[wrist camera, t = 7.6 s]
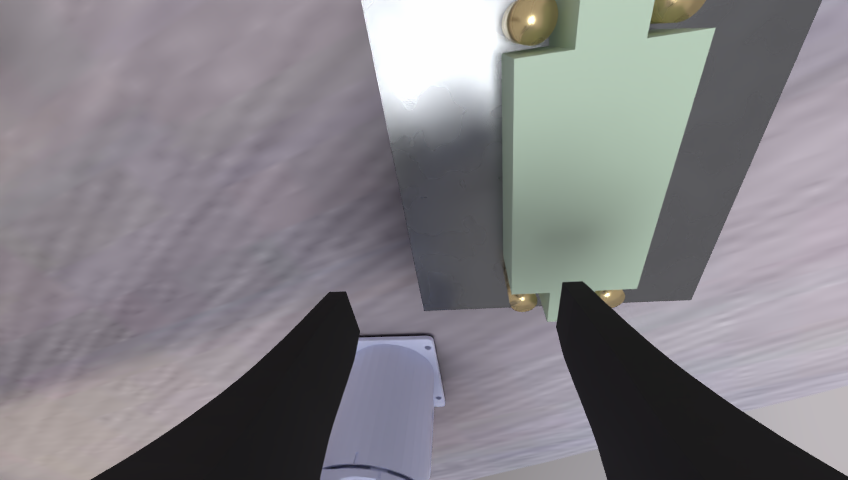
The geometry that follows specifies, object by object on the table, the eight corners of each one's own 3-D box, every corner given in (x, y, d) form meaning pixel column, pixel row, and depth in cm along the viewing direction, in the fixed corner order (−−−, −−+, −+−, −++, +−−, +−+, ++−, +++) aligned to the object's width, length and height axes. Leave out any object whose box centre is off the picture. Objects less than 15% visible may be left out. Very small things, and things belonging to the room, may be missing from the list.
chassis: (676, 282, 20) (720, 333, 16) (425, 295, 22) (420, 341, 19) (840, -143, 10) (1032, -231, 7) (362, -39, 12) (327, -66, 9)
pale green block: (602, 276, 18) (627, 319, 15) (503, 282, 19) (511, 322, 16) (671, -43, 10) (744, -69, 8) (501, -11, 11) (515, -24, 9)
